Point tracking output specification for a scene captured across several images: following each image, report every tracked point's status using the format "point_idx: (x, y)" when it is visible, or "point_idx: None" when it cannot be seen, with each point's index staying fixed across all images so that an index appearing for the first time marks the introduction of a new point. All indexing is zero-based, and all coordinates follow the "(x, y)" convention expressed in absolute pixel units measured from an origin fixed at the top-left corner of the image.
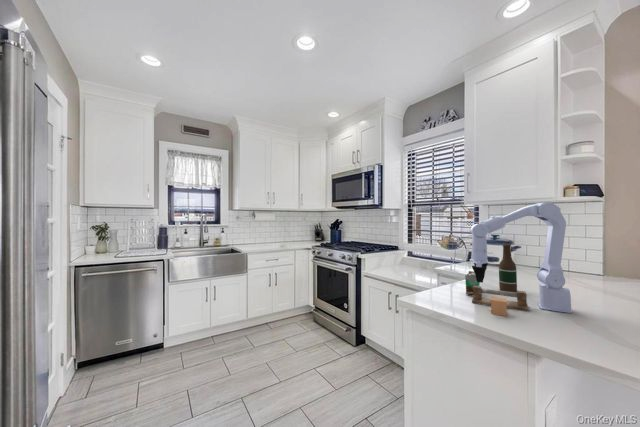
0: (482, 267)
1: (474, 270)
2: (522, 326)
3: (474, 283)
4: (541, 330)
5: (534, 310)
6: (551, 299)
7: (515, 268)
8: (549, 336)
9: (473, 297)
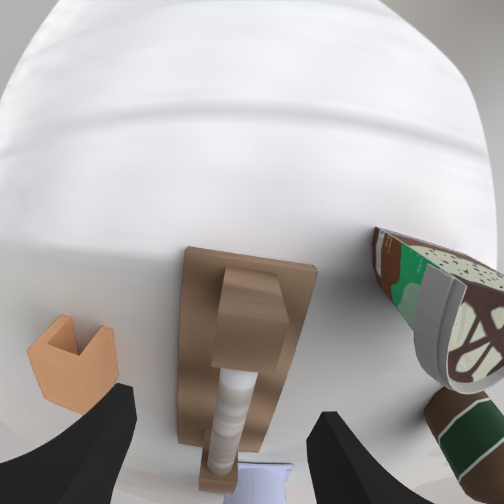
0: None
1: (11, 464)
2: (22, 365)
3: (410, 322)
4: (31, 393)
5: (201, 448)
6: (224, 502)
7: (463, 489)
8: (13, 390)
9: (273, 269)
